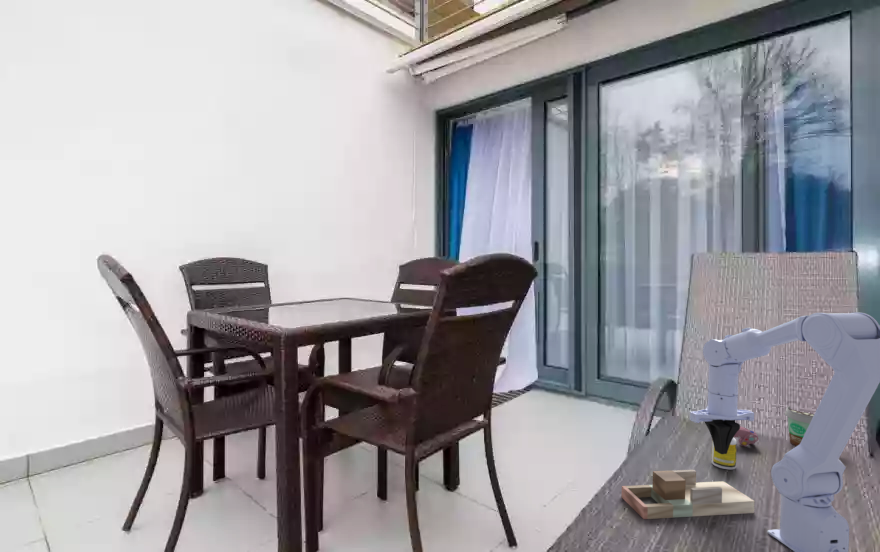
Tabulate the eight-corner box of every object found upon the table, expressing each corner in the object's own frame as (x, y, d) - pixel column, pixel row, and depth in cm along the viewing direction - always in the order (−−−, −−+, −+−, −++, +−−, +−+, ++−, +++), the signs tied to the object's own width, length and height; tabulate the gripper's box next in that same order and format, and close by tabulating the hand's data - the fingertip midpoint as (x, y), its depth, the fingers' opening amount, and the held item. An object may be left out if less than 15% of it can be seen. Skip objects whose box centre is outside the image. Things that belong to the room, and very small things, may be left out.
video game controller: (718, 448, 131) (722, 431, 127) (714, 436, 135) (717, 419, 131) (757, 453, 128) (762, 435, 125) (751, 440, 132) (756, 423, 129)
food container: (774, 441, 133) (775, 407, 133) (786, 437, 136) (787, 405, 135) (824, 457, 122) (825, 421, 122) (836, 453, 124) (837, 418, 124)
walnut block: (685, 499, 94) (685, 480, 94) (665, 500, 93) (665, 481, 93) (671, 488, 98) (672, 470, 98) (652, 489, 98) (652, 471, 97)
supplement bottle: (739, 471, 113) (741, 432, 112) (716, 469, 114) (717, 431, 113) (730, 462, 118) (731, 425, 118) (707, 460, 119) (709, 423, 119)
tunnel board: (754, 512, 93) (754, 486, 93) (643, 519, 90) (644, 492, 90) (723, 492, 102) (724, 468, 102) (621, 497, 99) (622, 472, 99)
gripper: (737, 387, 106) (735, 443, 106) (681, 388, 104) (679, 446, 104) (762, 395, 99) (760, 456, 99) (703, 397, 97) (701, 459, 97)
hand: (720, 452), depth 101 cm, fingers closed
